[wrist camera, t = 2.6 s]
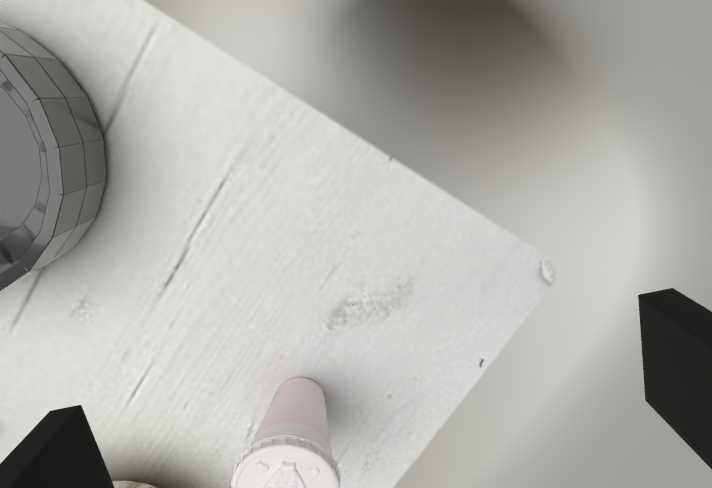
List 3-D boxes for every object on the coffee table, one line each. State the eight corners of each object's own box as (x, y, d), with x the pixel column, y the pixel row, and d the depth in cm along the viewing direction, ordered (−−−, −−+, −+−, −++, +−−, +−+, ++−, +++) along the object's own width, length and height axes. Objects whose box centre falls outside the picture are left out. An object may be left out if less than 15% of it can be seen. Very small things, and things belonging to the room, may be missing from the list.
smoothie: (253, 431, 41) (206, 599, 27) (261, 356, 39) (213, 495, 25) (337, 440, 41) (330, 610, 27) (347, 366, 39) (346, 509, 26)
